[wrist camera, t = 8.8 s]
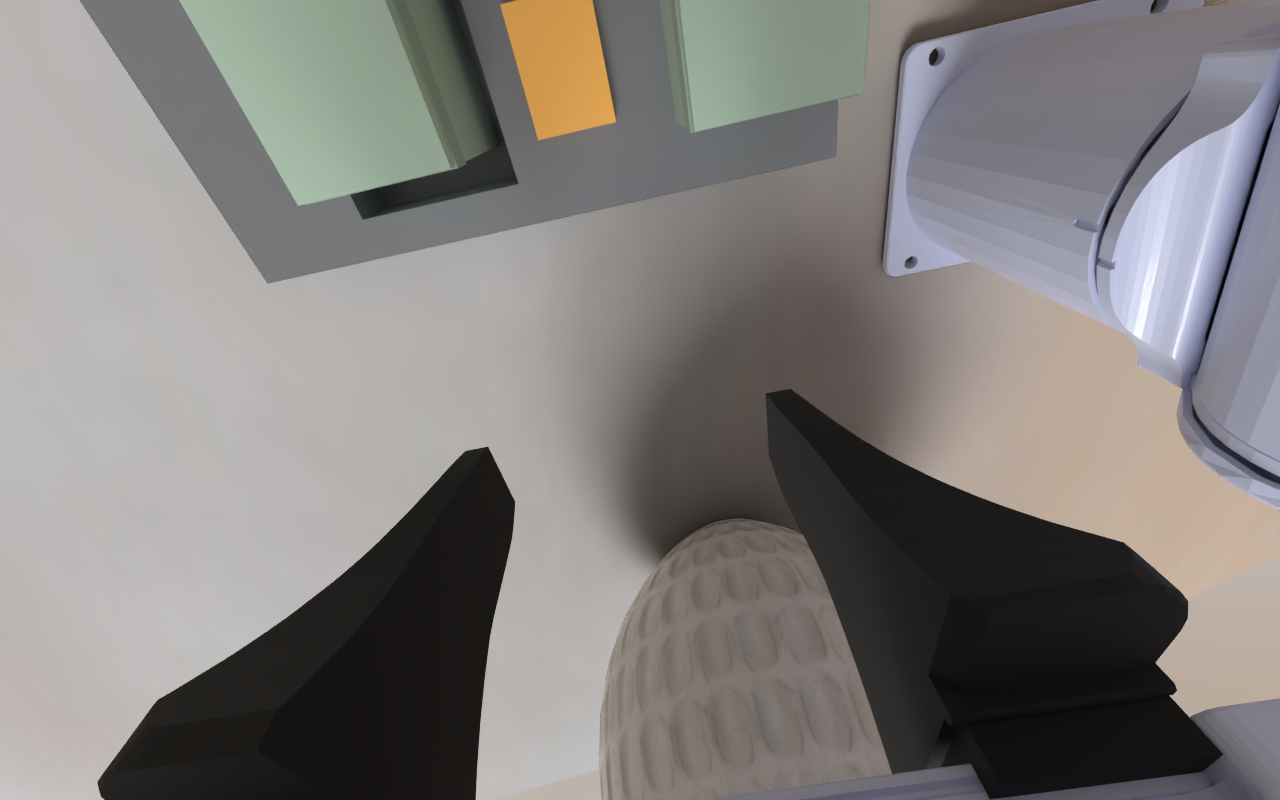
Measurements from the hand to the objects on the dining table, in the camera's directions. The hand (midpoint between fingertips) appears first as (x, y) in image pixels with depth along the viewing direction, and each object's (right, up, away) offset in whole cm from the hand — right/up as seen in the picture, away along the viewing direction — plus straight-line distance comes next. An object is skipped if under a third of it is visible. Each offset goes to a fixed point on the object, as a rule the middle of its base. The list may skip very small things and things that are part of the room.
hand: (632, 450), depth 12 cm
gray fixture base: (-4, +12, +4) cm, 13 cm away
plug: (-7, +11, +3) cm, 14 cm away
